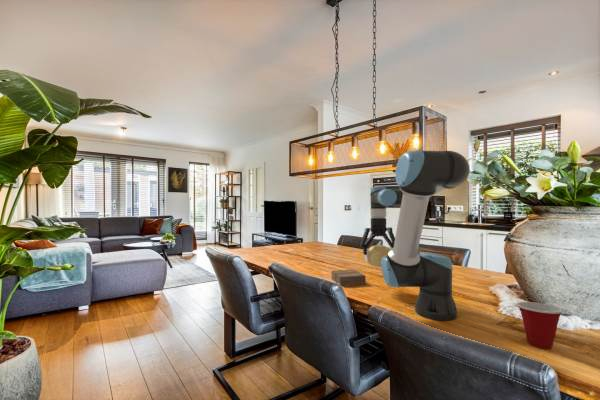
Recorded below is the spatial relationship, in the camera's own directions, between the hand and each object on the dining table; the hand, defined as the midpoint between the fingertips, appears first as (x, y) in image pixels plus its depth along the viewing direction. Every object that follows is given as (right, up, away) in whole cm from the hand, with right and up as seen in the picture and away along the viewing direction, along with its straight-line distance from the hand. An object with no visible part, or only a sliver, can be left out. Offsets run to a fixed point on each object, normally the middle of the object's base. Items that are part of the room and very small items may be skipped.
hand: (378, 260), depth 141 cm
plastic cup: (+34, -14, -54) cm, 66 cm away
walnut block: (-13, -15, +14) cm, 24 cm away
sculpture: (0, -3, 0) cm, 3 cm away
